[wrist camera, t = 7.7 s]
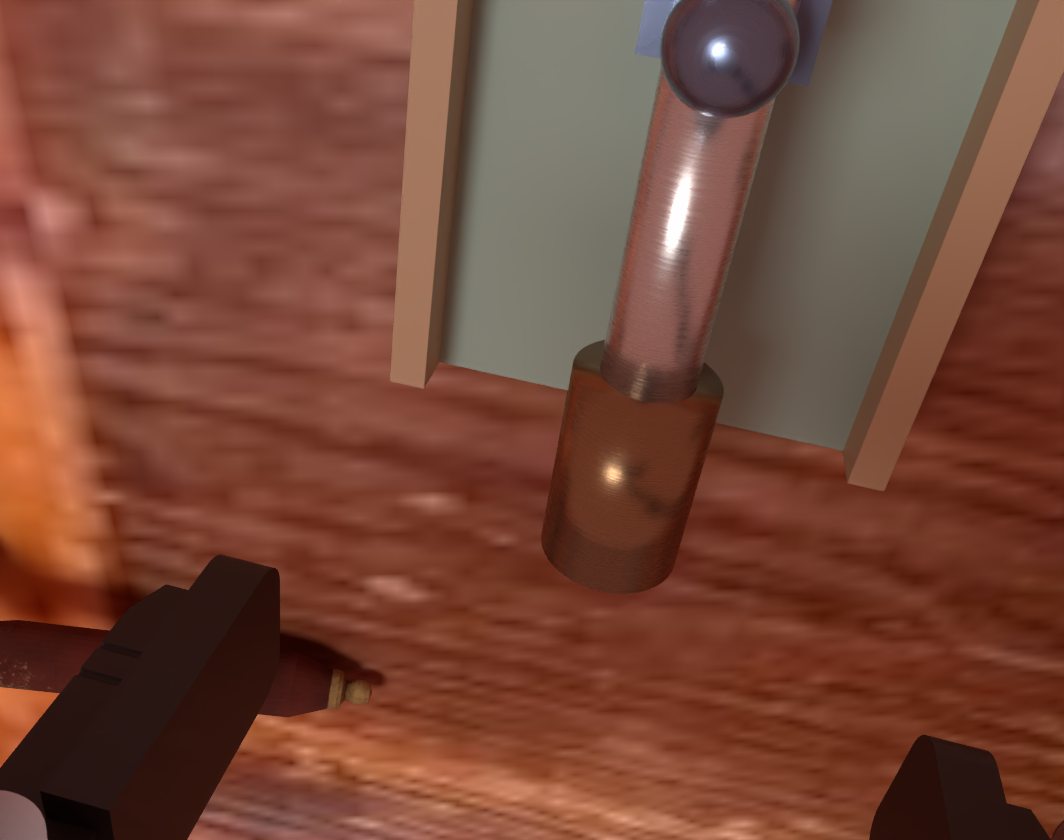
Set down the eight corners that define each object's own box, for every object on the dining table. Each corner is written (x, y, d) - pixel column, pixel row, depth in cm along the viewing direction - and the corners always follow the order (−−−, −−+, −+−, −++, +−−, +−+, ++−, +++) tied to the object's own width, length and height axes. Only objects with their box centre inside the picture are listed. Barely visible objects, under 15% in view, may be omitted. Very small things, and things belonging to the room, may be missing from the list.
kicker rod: (841, -108, 20) (884, -64, 13) (687, 450, 28) (664, 657, 21) (681, -135, 21) (642, -107, 14) (573, 425, 29) (515, 620, 22)
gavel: (389, 566, 42) (367, 768, 34) (376, 635, 45) (351, 838, 37) (-132, 497, 39) (-292, 704, 31) (-114, 576, 42) (-257, 786, 34)
